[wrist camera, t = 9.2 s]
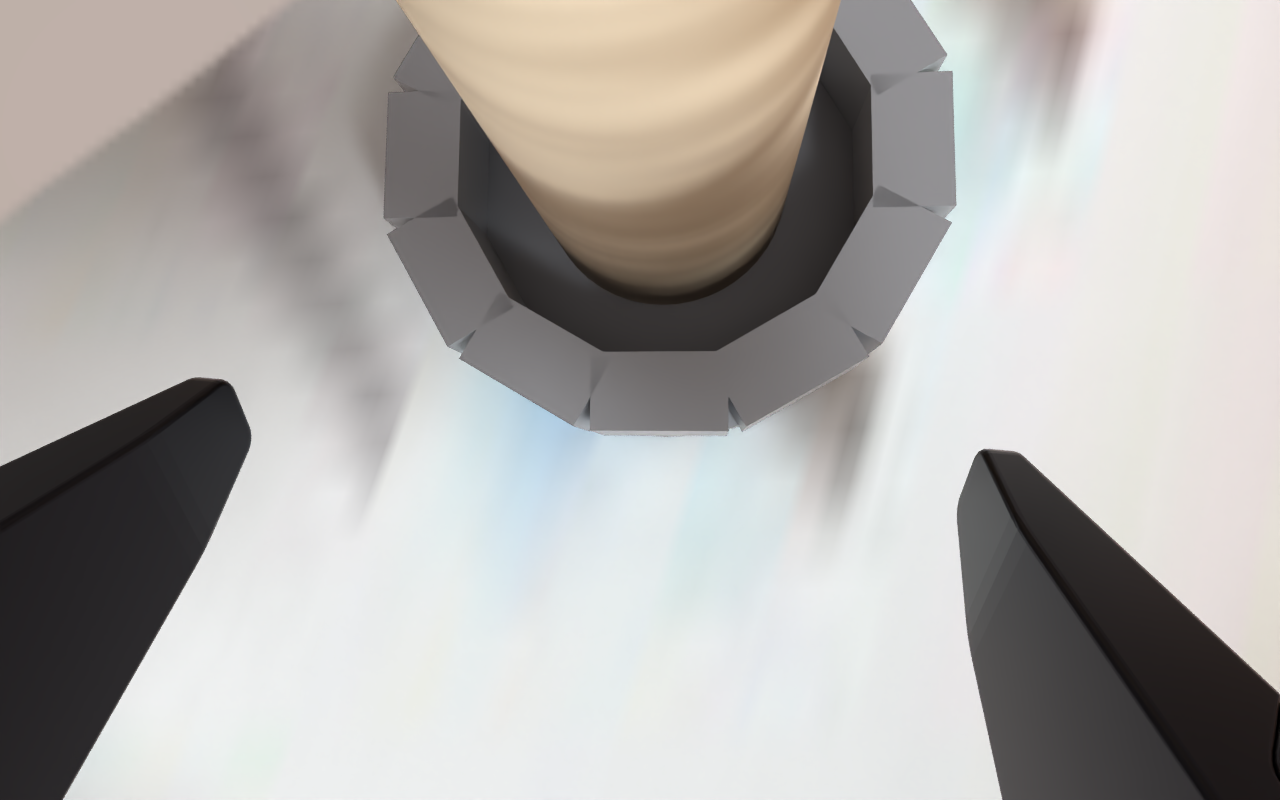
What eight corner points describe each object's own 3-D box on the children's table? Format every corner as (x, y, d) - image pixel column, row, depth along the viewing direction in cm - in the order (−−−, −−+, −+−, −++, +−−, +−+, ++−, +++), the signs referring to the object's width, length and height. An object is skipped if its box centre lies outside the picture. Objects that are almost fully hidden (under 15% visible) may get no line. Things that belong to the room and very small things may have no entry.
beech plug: (708, 375, 17) (699, 44, 4) (479, 234, 17) (-199, -457, 4) (857, 140, 17) (1346, -964, 4) (623, 10, 17) (376, -1284, 5)
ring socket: (575, 527, 17) (550, 538, 15) (352, 119, 19) (294, 62, 16) (1016, 276, 17) (1072, 241, 14) (756, -123, 18) (763, -221, 16)
